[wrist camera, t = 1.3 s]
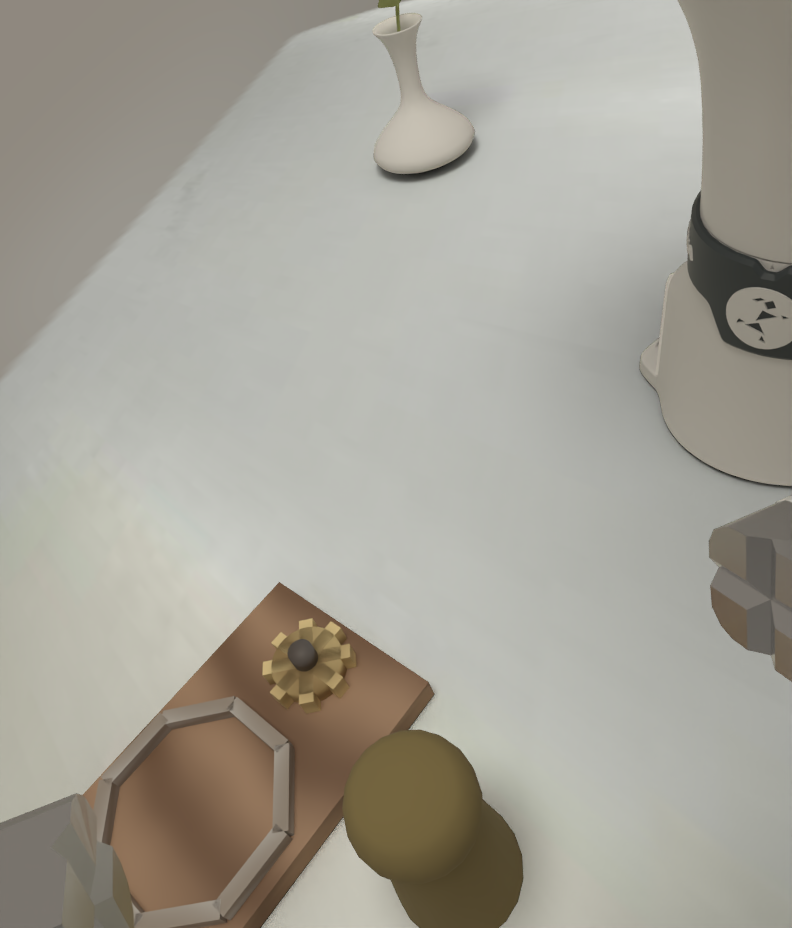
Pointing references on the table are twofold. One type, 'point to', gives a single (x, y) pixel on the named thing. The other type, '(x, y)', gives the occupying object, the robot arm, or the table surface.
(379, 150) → the flower in vase
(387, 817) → the cork
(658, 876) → the table surface
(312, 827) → the gear board
